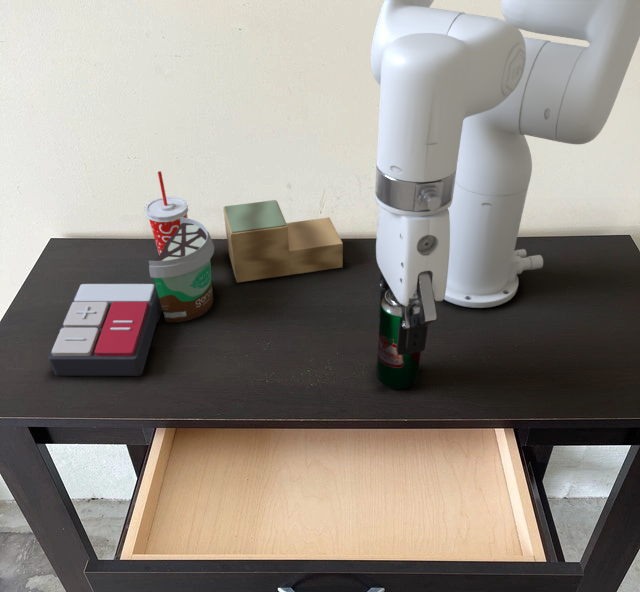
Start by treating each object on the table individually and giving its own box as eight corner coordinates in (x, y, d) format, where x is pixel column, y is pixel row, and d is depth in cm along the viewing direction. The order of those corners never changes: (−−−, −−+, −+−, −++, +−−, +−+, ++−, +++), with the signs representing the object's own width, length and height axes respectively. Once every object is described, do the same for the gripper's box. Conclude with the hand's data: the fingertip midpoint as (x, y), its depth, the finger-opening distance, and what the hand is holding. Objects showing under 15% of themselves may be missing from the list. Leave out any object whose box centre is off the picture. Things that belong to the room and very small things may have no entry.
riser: (329, 240, 104) (329, 192, 98) (342, 267, 98) (343, 217, 93) (229, 254, 101) (222, 205, 96) (236, 282, 96) (230, 232, 90)
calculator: (44, 354, 79) (77, 279, 89) (56, 379, 82) (86, 304, 92) (135, 354, 79) (157, 279, 89) (143, 379, 82) (164, 304, 92)
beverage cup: (150, 270, 99) (129, 180, 89) (165, 249, 103) (147, 160, 93) (188, 274, 98) (172, 184, 88) (202, 253, 102) (188, 164, 92)
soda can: (367, 375, 81) (371, 294, 73) (398, 359, 83) (405, 278, 75) (395, 397, 78) (402, 315, 70) (426, 380, 80) (437, 298, 72)
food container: (205, 333, 88) (194, 268, 80) (161, 328, 89) (146, 263, 81) (232, 282, 96) (224, 218, 89) (192, 277, 97) (181, 215, 90)
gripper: (487, 222, 58) (459, 376, 71) (421, 143, 70) (407, 288, 82) (406, 233, 57) (392, 388, 70) (352, 151, 68) (349, 297, 81)
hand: (400, 332), depth 76 cm, fingers open, 5 cm apart
